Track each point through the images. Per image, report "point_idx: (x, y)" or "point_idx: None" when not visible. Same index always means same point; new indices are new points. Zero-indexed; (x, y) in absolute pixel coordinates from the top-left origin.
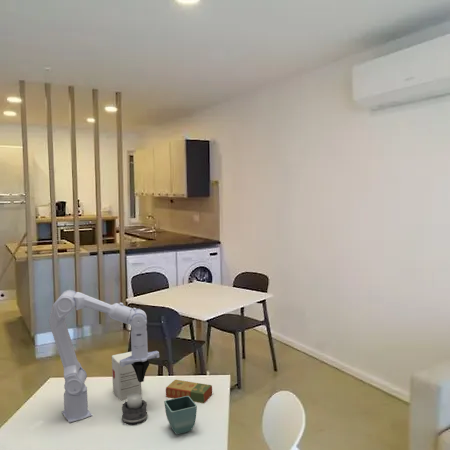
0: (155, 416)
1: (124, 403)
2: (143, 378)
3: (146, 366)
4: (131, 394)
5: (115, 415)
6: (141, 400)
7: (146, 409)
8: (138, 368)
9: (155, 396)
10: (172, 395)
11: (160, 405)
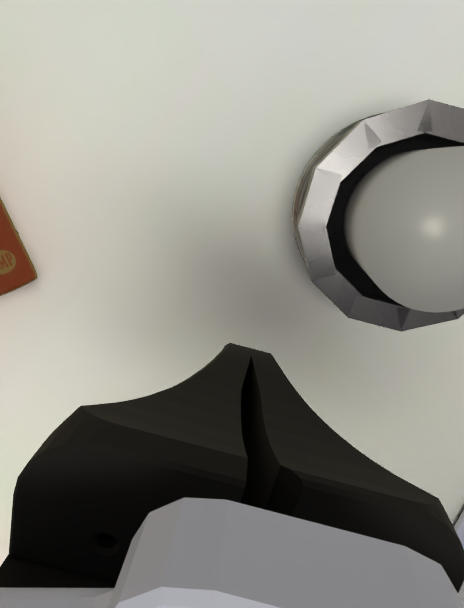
0: (268, 113)
1: (438, 317)
2: (232, 353)
3: (164, 417)
4: (423, 299)
5: (414, 350)
6: (399, 160)
7: (337, 141)
8: (382, 477)
9: (83, 338)
10: (2, 230)
11: (137, 215)
